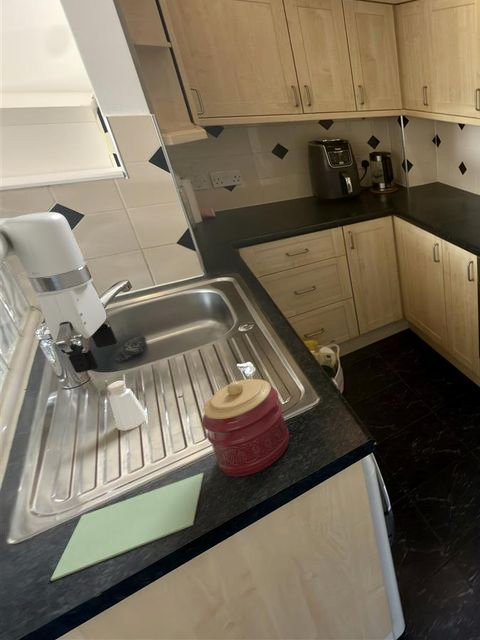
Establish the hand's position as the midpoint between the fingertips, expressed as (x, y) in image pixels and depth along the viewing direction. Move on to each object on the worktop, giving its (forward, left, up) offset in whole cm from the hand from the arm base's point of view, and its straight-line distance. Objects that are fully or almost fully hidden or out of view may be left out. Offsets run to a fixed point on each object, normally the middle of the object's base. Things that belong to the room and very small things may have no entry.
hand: (98, 357), depth 81 cm
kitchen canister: (+23, -17, -22) cm, 36 cm away
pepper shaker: (-3, +8, -22) cm, 24 cm away
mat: (+5, -24, -22) cm, 33 cm away
